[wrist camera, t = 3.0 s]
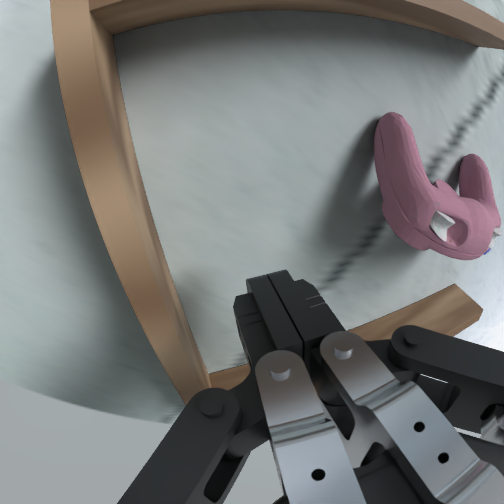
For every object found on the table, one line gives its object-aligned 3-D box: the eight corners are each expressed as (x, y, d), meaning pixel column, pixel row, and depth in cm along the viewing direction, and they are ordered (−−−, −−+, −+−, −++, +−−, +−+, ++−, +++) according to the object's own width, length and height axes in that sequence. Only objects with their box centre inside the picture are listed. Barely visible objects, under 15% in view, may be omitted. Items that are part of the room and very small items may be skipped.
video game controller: (341, 165, 16) (390, 273, 12) (380, 99, 12) (460, 204, 9) (442, 193, 19) (486, 272, 15) (477, 151, 16) (533, 231, 12)
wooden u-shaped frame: (82, 20, 8) (50, -6, 4) (477, 31, 11) (522, 35, 8) (196, 387, 20) (205, 435, 16) (451, 293, 23) (478, 319, 20)
